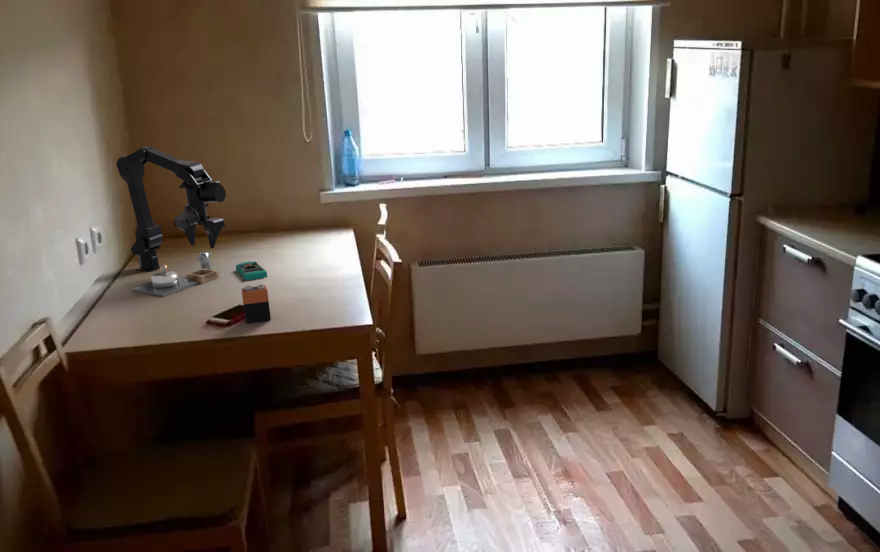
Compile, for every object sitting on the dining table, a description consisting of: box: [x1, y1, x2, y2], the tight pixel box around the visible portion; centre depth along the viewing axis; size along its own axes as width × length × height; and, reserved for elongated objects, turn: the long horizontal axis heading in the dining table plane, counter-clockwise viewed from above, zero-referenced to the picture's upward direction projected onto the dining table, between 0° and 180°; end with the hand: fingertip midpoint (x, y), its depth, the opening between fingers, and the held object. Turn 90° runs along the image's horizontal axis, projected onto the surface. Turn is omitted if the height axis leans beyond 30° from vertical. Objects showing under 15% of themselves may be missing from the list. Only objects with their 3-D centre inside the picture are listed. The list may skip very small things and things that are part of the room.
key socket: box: [186, 268, 220, 285], centre depth 256 cm, size 7×7×2 cm
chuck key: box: [196, 251, 212, 270], centre depth 263 cm, size 3×6×7 cm, turn 149°
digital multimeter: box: [235, 260, 268, 282], centre depth 260 cm, size 7×15×3 cm, turn 26°
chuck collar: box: [151, 264, 179, 288], centre depth 252 cm, size 16×8×6 cm, turn 21°
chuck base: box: [133, 277, 199, 297], centre depth 250 cm, size 14×14×1 cm
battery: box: [241, 284, 272, 324], centre depth 215 cm, size 4×7×10 cm, turn 106°
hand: (202, 247), depth 261 cm, fingers open, 9 cm apart
